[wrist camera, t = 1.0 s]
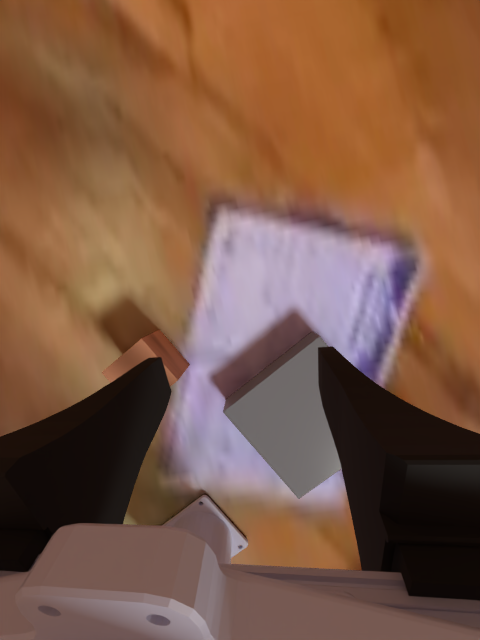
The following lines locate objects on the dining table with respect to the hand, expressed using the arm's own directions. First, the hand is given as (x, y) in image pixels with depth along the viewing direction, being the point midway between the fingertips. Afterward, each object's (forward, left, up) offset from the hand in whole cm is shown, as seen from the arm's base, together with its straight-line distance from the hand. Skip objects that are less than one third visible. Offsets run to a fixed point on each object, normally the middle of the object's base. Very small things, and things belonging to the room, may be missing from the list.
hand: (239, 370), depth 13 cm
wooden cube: (-10, +3, -17) cm, 20 cm away
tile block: (-1, -11, -17) cm, 20 cm away
